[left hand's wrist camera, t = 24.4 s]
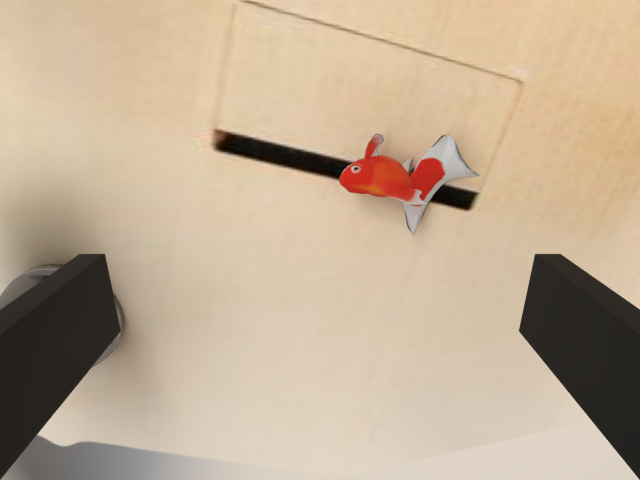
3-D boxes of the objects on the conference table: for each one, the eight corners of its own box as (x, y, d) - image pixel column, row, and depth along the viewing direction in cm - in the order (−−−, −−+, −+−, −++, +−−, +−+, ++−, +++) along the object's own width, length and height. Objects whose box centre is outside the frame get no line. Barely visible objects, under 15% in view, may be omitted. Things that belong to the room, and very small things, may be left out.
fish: (363, 85, 40) (403, 144, 33) (469, 124, 47) (518, 178, 41) (316, 170, 46) (343, 232, 40) (417, 192, 54) (452, 247, 48)
